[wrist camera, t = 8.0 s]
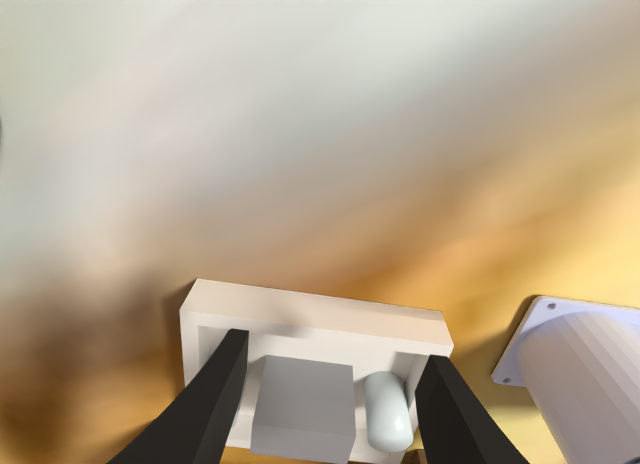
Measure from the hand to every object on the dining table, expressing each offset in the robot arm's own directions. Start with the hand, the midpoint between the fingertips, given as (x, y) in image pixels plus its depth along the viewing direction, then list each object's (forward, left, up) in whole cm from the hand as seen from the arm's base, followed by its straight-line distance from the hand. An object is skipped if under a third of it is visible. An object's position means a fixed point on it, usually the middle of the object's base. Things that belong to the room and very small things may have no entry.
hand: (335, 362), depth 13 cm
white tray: (0, +11, -9) cm, 15 cm away
